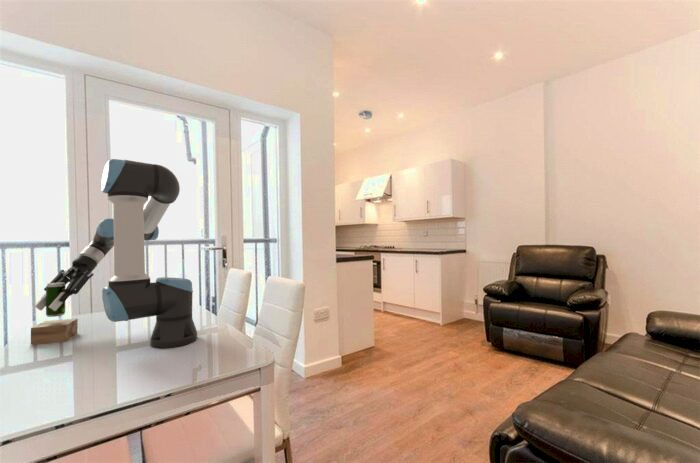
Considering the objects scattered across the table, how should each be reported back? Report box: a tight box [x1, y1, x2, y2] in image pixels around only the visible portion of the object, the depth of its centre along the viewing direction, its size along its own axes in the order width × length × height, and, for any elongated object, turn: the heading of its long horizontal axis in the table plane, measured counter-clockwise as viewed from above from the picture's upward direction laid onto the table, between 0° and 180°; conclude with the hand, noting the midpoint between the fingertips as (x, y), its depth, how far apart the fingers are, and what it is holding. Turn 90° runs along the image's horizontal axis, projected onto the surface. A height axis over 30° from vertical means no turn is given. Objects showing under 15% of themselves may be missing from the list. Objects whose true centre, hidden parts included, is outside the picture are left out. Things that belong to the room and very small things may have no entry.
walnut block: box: [30, 318, 79, 346], centre depth 121 cm, size 10×10×6 cm
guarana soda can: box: [45, 282, 67, 318], centre depth 121 cm, size 5×5×12 cm
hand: (45, 308), depth 117 cm, fingers closed on guarana soda can, 5 cm apart
